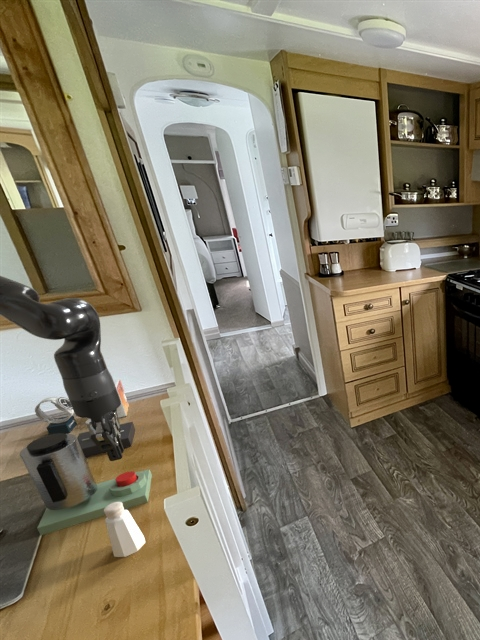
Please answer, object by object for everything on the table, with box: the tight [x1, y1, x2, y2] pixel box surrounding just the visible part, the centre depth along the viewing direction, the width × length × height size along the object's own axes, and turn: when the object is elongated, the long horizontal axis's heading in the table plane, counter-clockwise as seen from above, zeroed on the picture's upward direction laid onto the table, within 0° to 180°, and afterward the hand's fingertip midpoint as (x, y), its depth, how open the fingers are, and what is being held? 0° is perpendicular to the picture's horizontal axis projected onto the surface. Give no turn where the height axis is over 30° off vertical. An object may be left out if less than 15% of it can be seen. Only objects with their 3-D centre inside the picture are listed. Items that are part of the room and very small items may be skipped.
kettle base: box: [36, 468, 153, 536], centre depth 88 cm, size 18×11×4 cm, turn 124°
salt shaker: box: [104, 502, 147, 558], centre depth 76 cm, size 5×5×11 cm
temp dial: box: [85, 418, 94, 435], centre depth 108 cm, size 5×5×6 cm
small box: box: [113, 379, 130, 419], centre depth 123 cm, size 8×6×10 cm
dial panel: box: [76, 421, 136, 459], centre depth 109 cm, size 12×10×3 cm
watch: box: [34, 396, 78, 435], centre depth 114 cm, size 6×8×11 cm
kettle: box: [19, 433, 98, 510], centre depth 82 cm, size 8×10×15 cm
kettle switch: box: [114, 470, 137, 487], centre depth 90 cm, size 4×4×2 cm
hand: (117, 456), depth 88 cm, fingers closed
